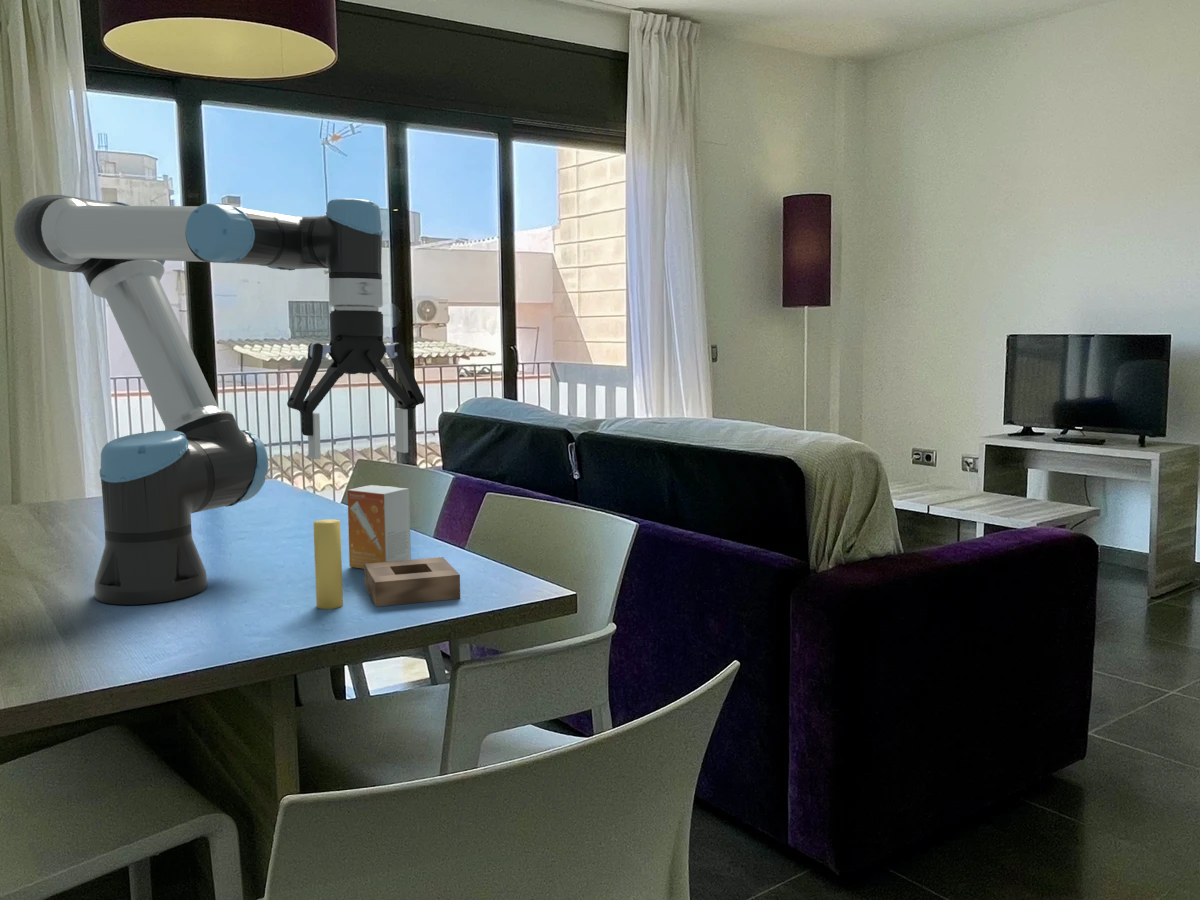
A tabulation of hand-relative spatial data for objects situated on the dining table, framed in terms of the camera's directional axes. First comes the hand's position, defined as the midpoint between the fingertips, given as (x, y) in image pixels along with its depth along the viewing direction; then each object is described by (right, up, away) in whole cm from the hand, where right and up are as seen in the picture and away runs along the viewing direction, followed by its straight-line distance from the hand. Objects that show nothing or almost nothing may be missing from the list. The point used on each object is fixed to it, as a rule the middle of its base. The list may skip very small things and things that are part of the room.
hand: (359, 455), depth 143 cm
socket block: (+8, -20, +1) cm, 22 cm away
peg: (-3, -21, -6) cm, 22 cm away
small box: (-1, -19, +17) cm, 25 cm away
